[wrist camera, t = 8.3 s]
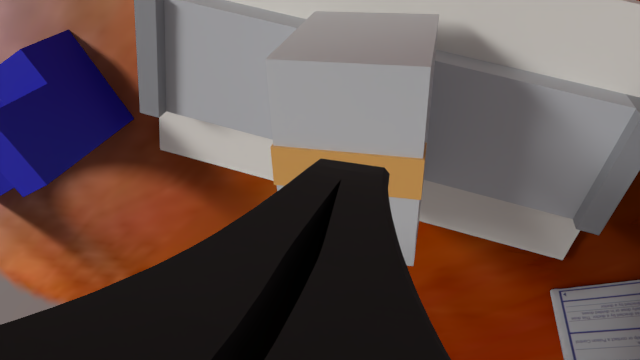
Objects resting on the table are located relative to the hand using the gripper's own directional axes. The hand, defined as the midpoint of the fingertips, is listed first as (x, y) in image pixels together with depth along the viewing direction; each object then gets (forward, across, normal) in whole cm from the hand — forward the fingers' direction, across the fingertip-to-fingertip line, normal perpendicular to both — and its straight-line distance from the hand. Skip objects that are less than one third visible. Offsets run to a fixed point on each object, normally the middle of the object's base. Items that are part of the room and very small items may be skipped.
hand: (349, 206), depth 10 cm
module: (+8, +1, +1) cm, 9 cm away
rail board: (+10, +1, +2) cm, 10 cm away
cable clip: (+11, +18, +6) cm, 22 cm away
